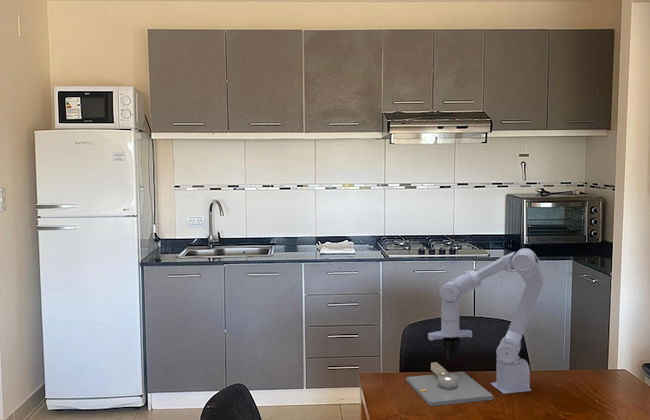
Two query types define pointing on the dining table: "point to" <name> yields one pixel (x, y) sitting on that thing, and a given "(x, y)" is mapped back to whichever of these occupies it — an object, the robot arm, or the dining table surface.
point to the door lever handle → (444, 377)
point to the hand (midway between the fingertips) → (450, 359)
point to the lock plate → (448, 390)
